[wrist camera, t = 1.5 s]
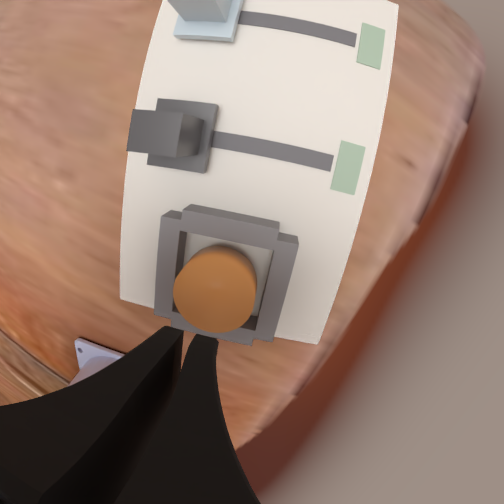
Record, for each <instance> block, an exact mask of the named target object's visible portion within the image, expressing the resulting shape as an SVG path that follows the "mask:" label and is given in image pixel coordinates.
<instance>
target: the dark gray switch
mask: <svg viewBox="0 0 504 504" xmlns="http://www.w3.org/2000/svg"><path fill="white" fill-rule="evenodd" d="M218 107H219V106H218V105H217V104H213V103H204V102H196V101H186V100H175V99H162V98H158V99H157V104H156V110H155V111H154V110H140V109H133V112H132V117H131V123H130V129H129V136H128V143H127V150H126V151H130V152H138V153H147V154H148V159H147V165H152V166H158V167H165V168H172V169H178V170H184V171H190V172H196V173H202V174H204V173H206V172H207V166H208V160H209V155H210V149H211V143H212V138H213V133H214V128H215V122H216V117H217V112H218Z"/></svg>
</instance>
